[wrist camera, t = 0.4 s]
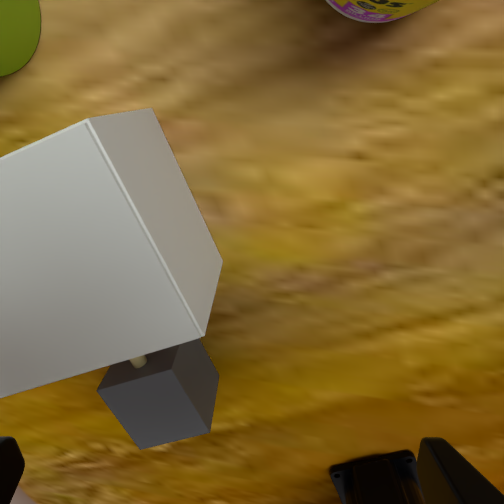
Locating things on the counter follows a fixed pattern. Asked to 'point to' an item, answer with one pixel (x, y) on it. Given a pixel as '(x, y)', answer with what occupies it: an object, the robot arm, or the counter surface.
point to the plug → (163, 394)
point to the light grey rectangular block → (98, 251)
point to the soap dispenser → (18, 33)
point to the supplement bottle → (378, 9)
